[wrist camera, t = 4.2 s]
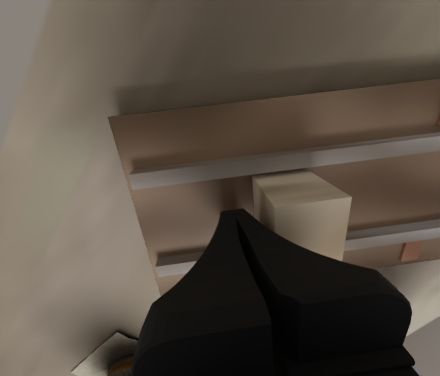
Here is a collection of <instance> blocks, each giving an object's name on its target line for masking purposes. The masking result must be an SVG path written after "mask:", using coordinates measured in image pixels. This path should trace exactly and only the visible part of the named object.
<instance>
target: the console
mask: <svg viewBox="0 0 440 376" xmlns="http://www.w3.org/2000/svg"><path fill="white" fill-rule="evenodd" d="M108 119H109V123H110V126H111V130H112V133H113V136H114V140H115V143H116V146H117V150H118V153H119V156H120V160H121V163H122V167H123V170H124V173H125V177H126V180H127V183H128V187H129V190H130V193H131V197H132V200H133V203H134V207H135V210H136V214H137V217H138V220H139V224H140V227H141V230H142V234H143V237H144V240H145V244H146V247H147V251H148V254H149V257H150V261H151V264H152V267H153V271H154V274H155V277H156V281H157V284H158V288H159V291H160V294H161V296H162V295H164V294H165V293H166V292H167V291H168V290H170V289H171V288H172V287H173V286H174V285H175V284H177V283H178V282H179V281H180V280H181V279H182V278H183V277H184V276H185V274H186V273H187V272H188V271H189V270H190V269H191V268H192V267H193V266H194V264H195V263H196V262H197V260H198V259H199V258H200V256H201V255H202V254H203V252H204V251H205V249H206V247H207V246H208V244H209V242H210V240H211V238H212V236H213V234H214V232H215V230H216V227H217V225H218V221H219V218H220V213H221V212H222V211H226V210H234V209H241V208H244V209H245V210H246V211H247V212H249V213H250V214H251V215H252V216H253V217H254V200H253V180H252V176H253V175H261V174H268V173H276V172H284V171H292V170H300V169H307V170H309V171H310V172H312V173H314V174H315V175H317V176H318V177H320V178H322V179H323V180H325V181H327V182H328V183H330V184H332V185H333V186H335V187H336V188H338V189H340V190H341V191H343V192H345V193H346V194H348V195H350V196H351V197H352V200H351V206H350V213H349V220H348V226H347V233H346V240H345V246H344V253H343V260H342V261H343V262H346V263H350V264H354V265H358V266H362V267H366V268H370V269H373V268H380V267H387V266H394V265H401V264H408V263H415V262H422V261H429V260H436V259H440V79H432V80H423V81H415V82H406V83H398V84H389V85H380V86H372V87H363V88H354V89H346V90H337V91H328V92H320V93H311V94H302V95H294V96H285V97H277V98H268V99H259V100H251V101H242V102H233V103H225V104H216V105H207V106H199V107H190V108H182V109H173V110H164V111H156V112H147V113H138V114H130V115H121V116H112V117H108Z"/></svg>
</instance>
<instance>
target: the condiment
mask: <svg viewBox="0 0 440 376" xmlns="http://www.w3.org/2000/svg"><path fill="white" fill-rule="evenodd" d="M137 342H138V341H137V340H134V339H130V338H127V337H125V336H124V335H122V334H120V333H118V332H117V333H116V334H114V335H113V336H112V337H110V338H109V339H108V340H107V341H105V342H104V343H103V344H102V345H101V346H99V347H98V348H97V349H96V350H95V351H94V352H93V353H92V354H90V355H89V356H88V357H87V358H86V359H85V360H84V361H83V362H82V363H80V364H79V365H78V366H77V367H76V368H75V369H74V370H73V371H72V372H71V373H72V374H75V375H77V376H132V374H131V366H132V361H133V357H134V353H135V350H136V346H137ZM103 366H105V367H106V368H104V367H103ZM105 369H107V371H105Z"/></svg>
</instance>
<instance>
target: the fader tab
mask: <svg viewBox="0 0 440 376" xmlns="http://www.w3.org/2000/svg"><path fill="white" fill-rule="evenodd" d="M252 180H253V200H254V218H255V219H257V220H258V221H259V222H261V223H262V224H263V225H264V226H266V227H267V228H269V229H270V230H272V231H273V232H275V233H276V234H278V235H280V236H281V237H283V238H285V239H287V240H289V241H291V242H293V243H295V244H297V245H299V246H301V247H304V248H306V249H308V250H311V251H313V252H316V253H318V254H321V255H324V256H327V257H330V258H333V259H336V260H339V261H342V260H343V253H344V246H345V240H346V233H347V226H348V220H349V213H350V206H351V200H352V197H351V196H350V195H348V194H346V193H345V192H343V191H341V190H340V189H338V188H336V187H335V186H333V185H332V184H330V183H328V182H327V181H325V180H323V179H322V178H320V177H318V176H317V175H315V174H314V173H312V172H310V171H309V170H307V169H300V170H292V171H284V172H276V173H268V174H261V175H253V176H252Z"/></svg>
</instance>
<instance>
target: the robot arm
mask: <svg viewBox="0 0 440 376" xmlns="http://www.w3.org/2000/svg"><path fill="white" fill-rule="evenodd" d="M411 316H412V310H411V306H410V302H409V301H408V300H407V299H406V298H405V296H404V295H403V294H402V293H400V292H399V291H398V290H397V289H396V288H395V287H394V286H393V285H392V284H391V283H390V282H389V281H388V280H387V279H386V278H385V277H383V276H382V275H381V274H380V273H379V272H378V271H377V270H374V269H370V268H366V267H362V266H358V265H354V264H350V263H346V262H343V261H339V260H336V259H333V258H330V257H327V256H324V255H321V254H318V253H316V252H313V251H311V250H308V249H306V248H304V247H301V246H299V245H297V244H295V243H293V242H291V241H289V240H287V239H285V238H283V237H281V236H280V235H278V234H276V233H275V232H273V231H272V230H270V229H269V228H267V227H266V226H264V225H263V224H262V223H261V222H259V221H258V220H257V219H255V218H254V217H253V216H252V215H251V214H250V213H249V212H247V211H246V210H245V209H244V208H241V209H234V210H226V211H222V212H221V213H220V218H219V221H218V225H217V227H216V230H215V232H214V234H213V236H212V238H211V240H210V242H209V244H208V246H207V247H206V249H205V251H204V252H203V254H202V255H201V256H200V258H199V259H198V260H197V262H196V263H195V264H194V266H193V267H192V268H191V269H190V270H189V271H188V272H187V273H186V274H185V276H184V277H183V278H182V279H181V280H180V281H179V282H178V283H177V284H175V285H174V286H173V287H172V288H171V289H170V290H168V291H167V292H166V293H165V294H164V295H162V296H161V297H160V298H159V299H157V300H156V301H155V302H154V303H152V305H151V307H150V310H149V312H148V314H147V317H146V319H145V322H144V324H143V327H142V329H141V332H140V335H139V338H138V342H137V346H136V350H135V353H134V357H133V361H132V366H131V374H132V376H422V375H421V374H420V373H419V372H418V371H417V369H416V368H415V367H414V365H415V361H414V359H413V357H412V356H411V355H410V354H409V352H408V351H407V350H406V349H405V348H404V346H403V342H404V339H405V337H406V334H407V331H408V328H409V325H410V322H411Z"/></svg>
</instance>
